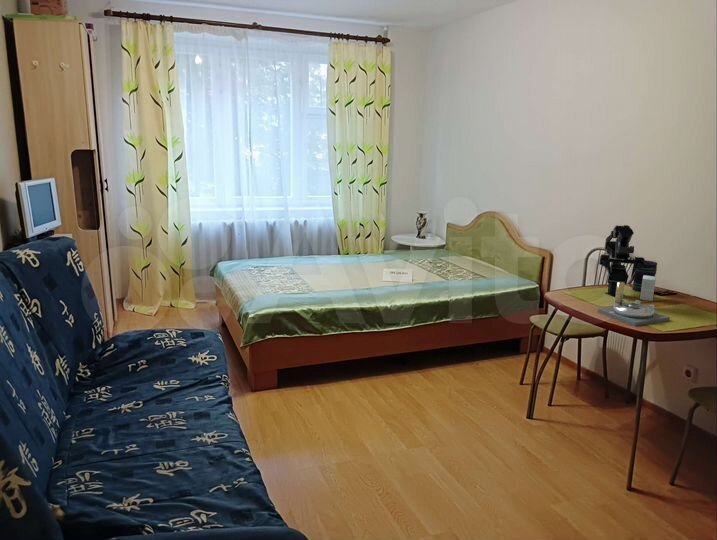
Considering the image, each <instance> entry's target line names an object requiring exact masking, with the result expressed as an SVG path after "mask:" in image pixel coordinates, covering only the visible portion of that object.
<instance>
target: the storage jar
mask: <svg viewBox="0 0 717 540" xmlns="http://www.w3.org/2000/svg"><path fill="white" fill-rule="evenodd" d="M657 266H658V262H657V261H653V260H645V262H644V265H643V268H640V269H637V270H636V271H635V273H634V278H633V282H632V291H634V292H636V293H637V292H638V293H641V287H642V279H643V275H646V276H654V277H656V275H657V270H658V269H657V268H658V267H657Z"/></svg>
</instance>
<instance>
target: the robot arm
mask: <svg viewBox="0 0 717 540" xmlns="http://www.w3.org/2000/svg"><path fill="white" fill-rule="evenodd" d="M634 234H635V233H634V230H633V228H631V226H629V225H626V224H624V225H615V227H613V230H611V232H610V234H609V235H608V236H607V237H606V238H605V243H604V250H605V253H606V254H601V255H599V266H602V267H604V268H605V270H606V272H607V275H606V283H607V284H608V285H607V286H608V287H607V292H604V294H606V295H609V296H612V297H614V298H615V297H616V288H617V282H624V283H625V285H627V284H628V280H629V274H628V271H627V268H626V265H625V264H629V265H630V264H631V265H632V269H631V274H630V278H631V279H633V276H635V271H636V270H637V269H640V268H643V265H644V262H645V257H642V256H635V257H634V259H629V258H630V254H634V252H635V246H634V245H630V242H631V240H632V238H633V235H634ZM613 239H615V240H613ZM624 296H625V294H624V293H623V297H624Z"/></svg>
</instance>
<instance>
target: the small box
mask: <svg viewBox="0 0 717 540" xmlns="http://www.w3.org/2000/svg"><path fill="white" fill-rule="evenodd" d="M656 279H657V277H656V276H655V277H654V276H646V275H643V279H642V287H641V292H640V296H639V300H641V301H642V300H644V301H653V299H654V292H655V287H656Z"/></svg>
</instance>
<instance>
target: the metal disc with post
mask: <svg viewBox="0 0 717 540" xmlns="http://www.w3.org/2000/svg"><path fill="white" fill-rule="evenodd" d="M625 285H626V284H625V283H624V282H617V288H616V297H614V298H615V299H614V303H613V306H612V307H613V311H614V312H615V313H617V314H619V315H622V316H626V317H632V318H651V317H653V316H654V312H656V311H655V310H656V309H655V305H654V304H648V305H647V304H643V303H641V302H642V300H641V299H635V301H634V302H631V301H625V299H624V296H623V294H624V293H625Z"/></svg>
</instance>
